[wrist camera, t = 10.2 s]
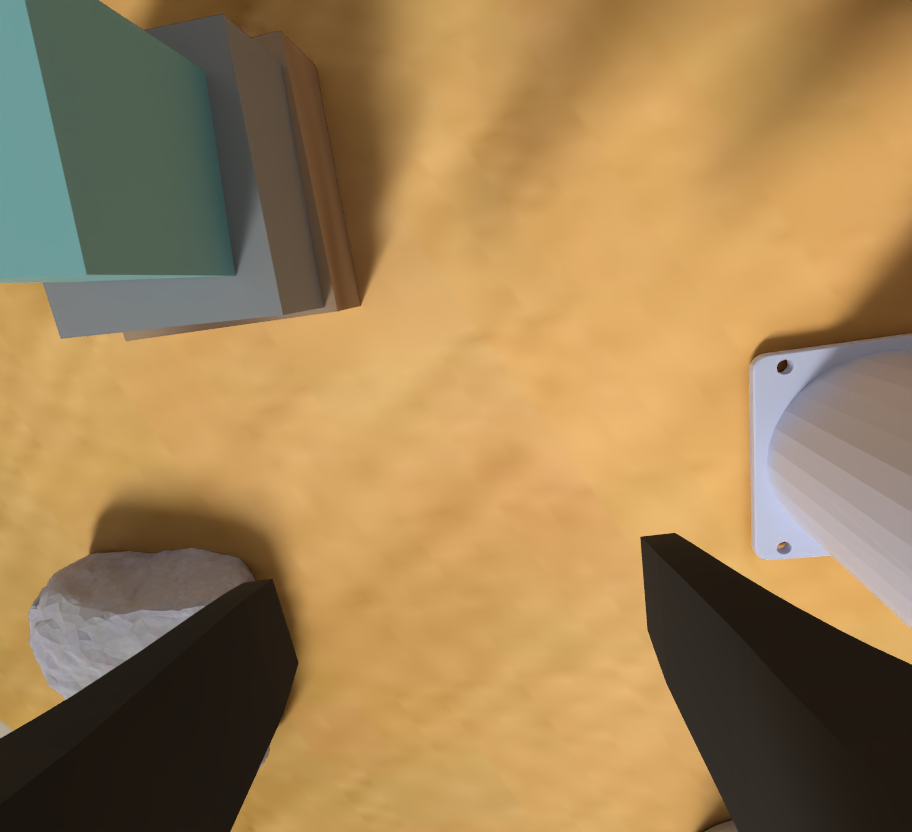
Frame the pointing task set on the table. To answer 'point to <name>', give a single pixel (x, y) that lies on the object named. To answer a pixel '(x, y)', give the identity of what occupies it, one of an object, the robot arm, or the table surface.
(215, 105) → the grey block
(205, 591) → the stone block
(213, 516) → the table surface
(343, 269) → the walnut slab
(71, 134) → the teal cube
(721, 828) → the cupcake
